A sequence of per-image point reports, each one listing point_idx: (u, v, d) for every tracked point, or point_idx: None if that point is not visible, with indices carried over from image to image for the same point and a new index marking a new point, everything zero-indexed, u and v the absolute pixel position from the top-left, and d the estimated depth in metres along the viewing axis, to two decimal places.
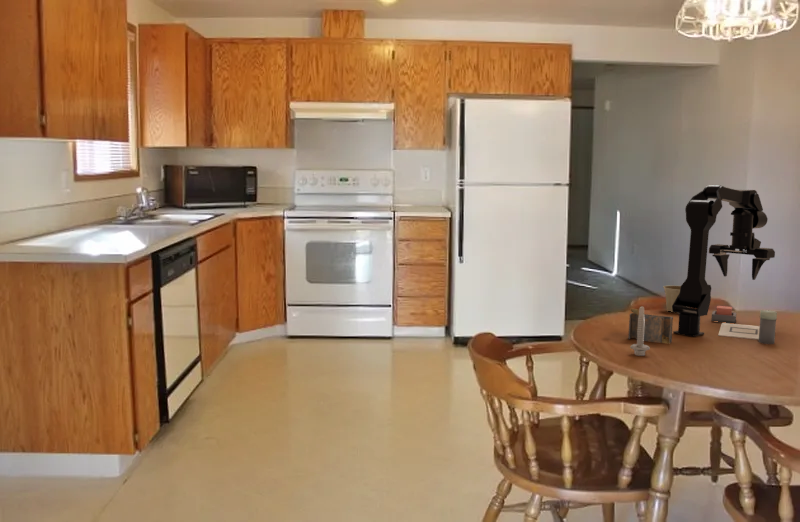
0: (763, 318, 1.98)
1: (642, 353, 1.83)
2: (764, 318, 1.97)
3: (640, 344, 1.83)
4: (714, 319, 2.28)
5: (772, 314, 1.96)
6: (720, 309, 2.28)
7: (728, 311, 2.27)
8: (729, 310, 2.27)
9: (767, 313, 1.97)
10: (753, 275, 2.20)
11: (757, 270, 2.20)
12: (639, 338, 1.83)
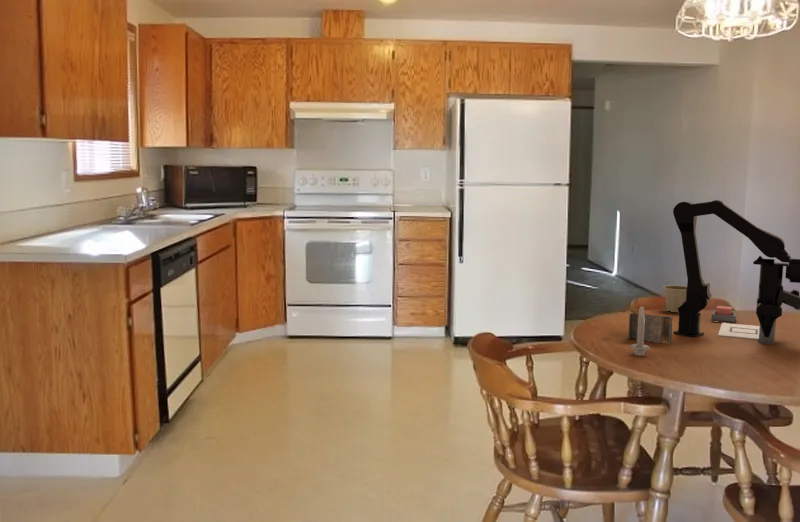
0: None
1: (642, 353, 1.83)
2: None
3: (640, 344, 1.83)
4: (714, 319, 2.28)
5: None
6: (720, 309, 2.28)
7: (728, 311, 2.27)
8: (729, 310, 2.27)
9: None
10: (763, 331, 1.97)
11: (766, 326, 1.96)
12: (639, 338, 1.83)
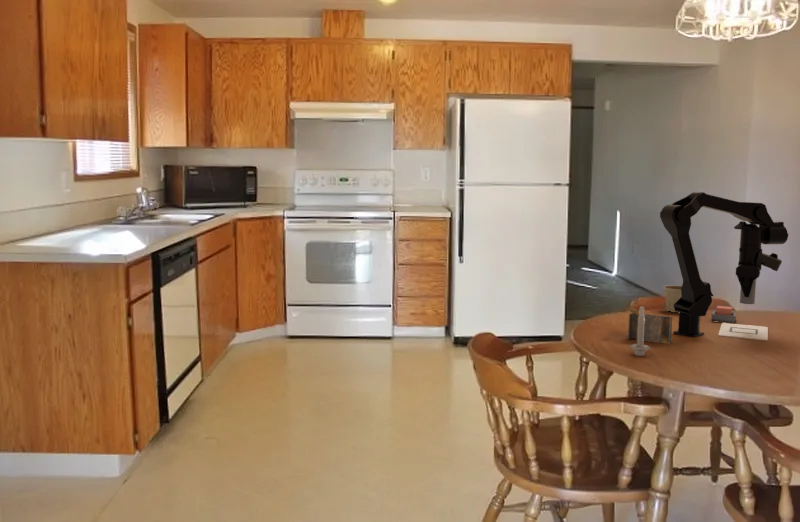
0: None
1: (642, 353, 1.83)
2: None
3: (640, 344, 1.83)
4: (714, 319, 2.28)
5: None
6: (720, 309, 2.28)
7: (728, 311, 2.27)
8: (729, 310, 2.27)
9: None
10: (743, 292, 2.10)
11: (746, 287, 2.09)
12: (639, 338, 1.83)
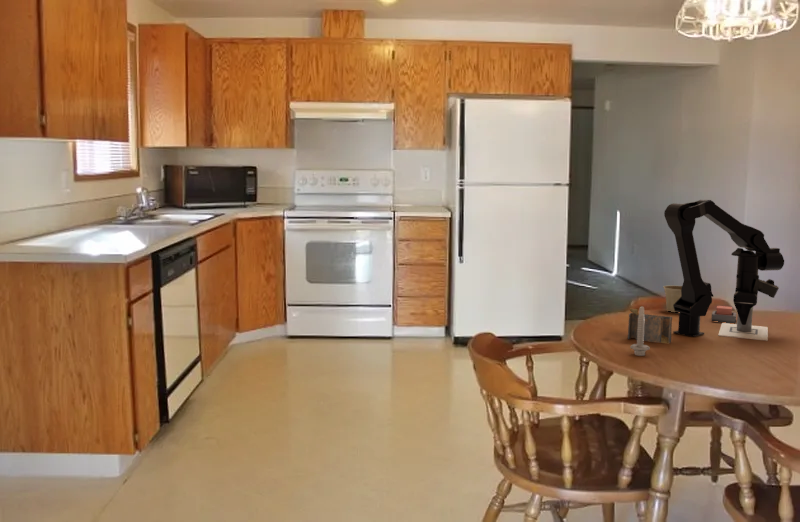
0: None
1: (642, 353, 1.83)
2: None
3: (640, 344, 1.83)
4: (714, 319, 2.28)
5: None
6: (720, 309, 2.28)
7: (728, 311, 2.27)
8: (729, 310, 2.27)
9: None
10: (740, 319, 2.09)
11: (743, 315, 2.08)
12: (639, 338, 1.83)
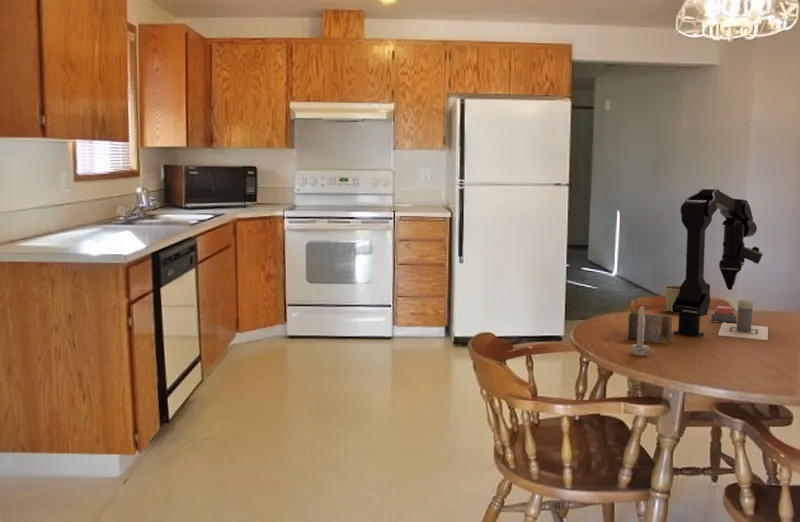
0: (740, 308, 2.12)
1: (642, 353, 1.83)
2: (741, 308, 2.11)
3: (640, 344, 1.83)
4: (714, 319, 2.28)
5: (749, 304, 2.10)
6: (720, 309, 2.28)
7: (728, 311, 2.27)
8: (729, 310, 2.27)
9: (744, 303, 2.11)
10: (726, 285, 2.21)
11: (729, 280, 2.20)
12: (639, 338, 1.83)
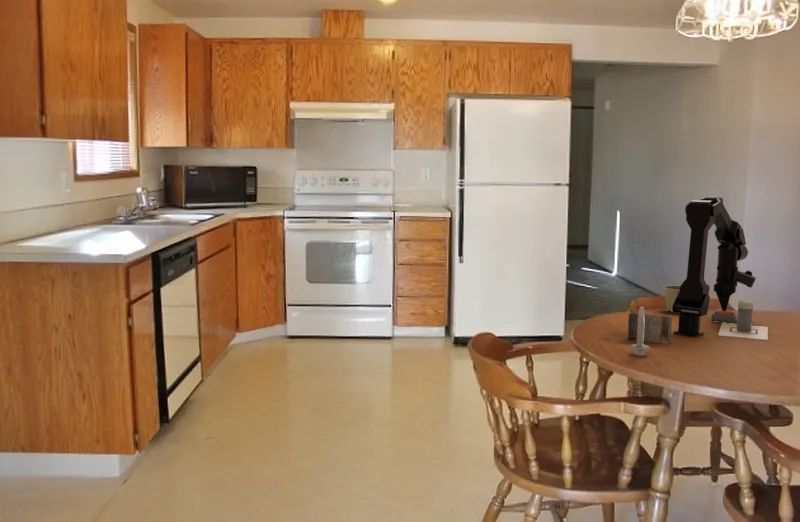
0: (740, 308, 2.12)
1: (642, 353, 1.83)
2: (741, 308, 2.11)
3: (640, 344, 1.83)
4: (714, 319, 2.28)
5: (749, 304, 2.10)
6: (720, 312, 2.28)
7: (728, 314, 2.27)
8: (729, 313, 2.27)
9: (744, 303, 2.11)
10: (721, 305, 2.29)
11: (723, 301, 2.28)
12: (639, 338, 1.83)
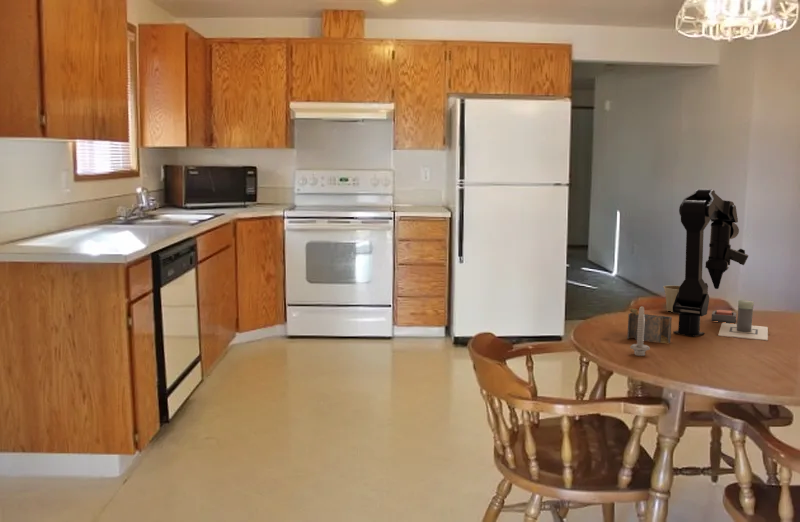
0: (740, 308, 2.12)
1: (642, 353, 1.83)
2: (742, 308, 2.11)
3: (640, 344, 1.83)
4: (714, 319, 2.28)
5: (749, 304, 2.10)
6: (720, 313, 2.28)
7: None
8: (729, 314, 2.27)
9: (744, 303, 2.11)
10: (713, 284, 2.27)
11: (716, 279, 2.26)
12: (639, 338, 1.83)
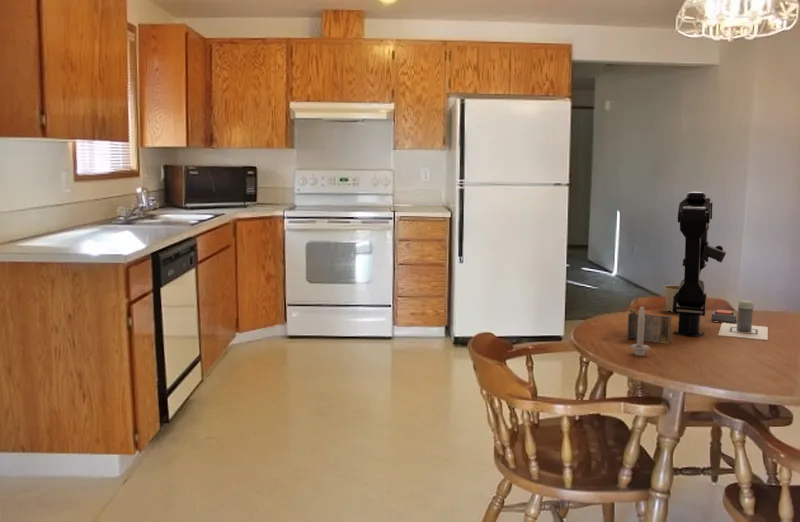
0: (741, 308, 2.12)
1: (642, 353, 1.83)
2: (742, 308, 2.11)
3: (640, 344, 1.83)
4: (714, 319, 2.28)
5: (749, 304, 2.10)
6: (720, 313, 2.28)
7: None
8: (729, 314, 2.27)
9: (745, 303, 2.11)
10: None
11: None
12: (639, 338, 1.83)
